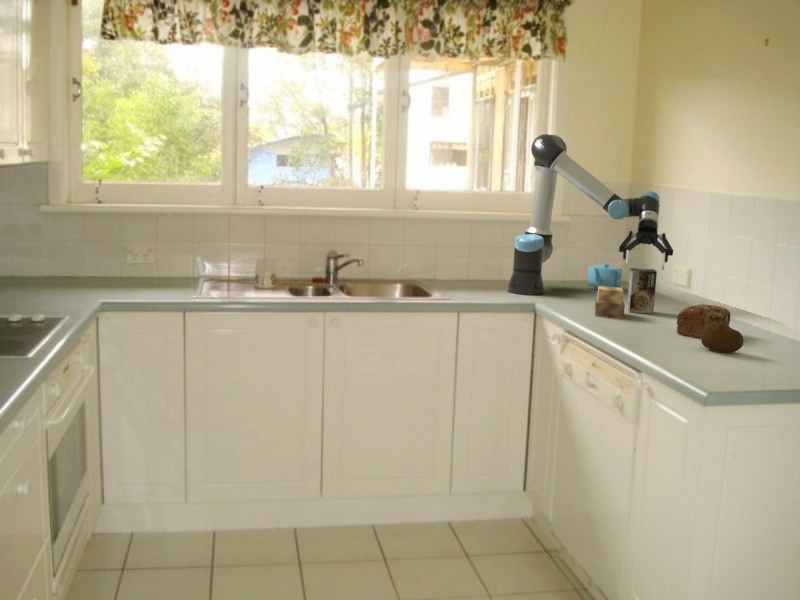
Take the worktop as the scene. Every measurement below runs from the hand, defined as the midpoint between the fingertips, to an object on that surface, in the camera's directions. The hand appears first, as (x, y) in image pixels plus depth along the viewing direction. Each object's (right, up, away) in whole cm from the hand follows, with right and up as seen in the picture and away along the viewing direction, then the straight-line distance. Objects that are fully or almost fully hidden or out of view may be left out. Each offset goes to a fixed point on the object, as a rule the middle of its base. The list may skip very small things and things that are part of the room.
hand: (644, 266), depth 340 cm
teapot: (-6, -9, +46) cm, 47 cm away
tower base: (-17, -18, -15) cm, 30 cm away
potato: (+4, -29, -69) cm, 75 cm away
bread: (+8, -24, -43) cm, 50 cm away
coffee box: (-4, -17, -6) cm, 19 cm away
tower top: (-17, -14, -16) cm, 27 cm away
